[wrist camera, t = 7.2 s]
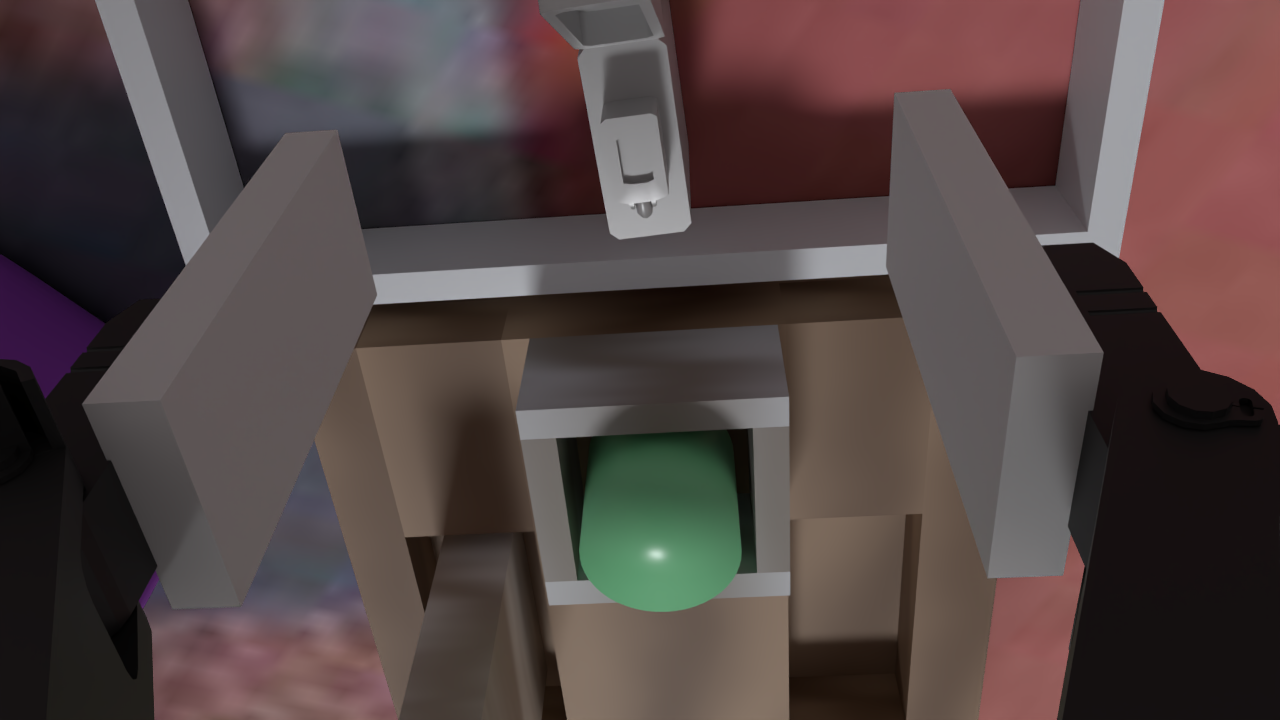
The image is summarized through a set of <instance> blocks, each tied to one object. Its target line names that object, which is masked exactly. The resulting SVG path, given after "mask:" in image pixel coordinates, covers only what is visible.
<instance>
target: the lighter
mask: <svg viewBox="0 0 1280 720" xmlns="http://www.w3.org/2000/svg"><path fill="white" fill-rule="evenodd" d="M538 3H539V10H540V15H541V16H542V17H543V18H544V19H545V20H546V21H547V22H548V23H549V24H550V25H551V26H552V27H553V28H554V29H555V30H556V31H557V32H558V33H559V34H560V35H561V36H562V37H563V38H564V39H565V40H566V41H567V42H568V43H569V44H570V45H571V46H572V47H573V48H574V49H579V54H578V64H579V69H580V75H581V80H582V85H583V91H584V96H585V102H586V107H587V112H588V118H589V123H590V129H591V134H592V139H593V145H594V150H595V156H596V161H597V166H598V172H599V177H600V183H601V188H602V194H603V199H604V204H605V210H606V215H607V221H608V226H609V231H610V234H612V235H613V236H615V237H616V238H618V239H619V240H620V239H628V238H636V237H644V236H652V235H660V234H668V233H676V232H684V231H685V230H686V229H687V228H688V226H689V225H690V224H691V197H690V170H689V144H688V136H687V129H686V122H685V114H684V107H683V100H682V92H681V85H680V77H679V70H678V63H677V55H676V48H675V40H674V33H673V26H672V18H671V11H670V4H669V0H538Z"/></svg>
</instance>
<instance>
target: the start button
mask: <svg viewBox="0 0 1280 720" xmlns="http://www.w3.org/2000/svg"><path fill="white" fill-rule="evenodd" d="M741 553H742V549H741V537H740V525H739V512H738V500H737V487H736V475H735V463H734V451H733V444H732V441H731V438H730V436H729V433H728V431H727V430H706V431H686V432H667V433H647V434H627V435H607V436H592V438H591V441H590V445H589V453H588V464H587V474H586V485H585V495H584V505H583V516H582V526H581V537H580V547H579V554H580V561H581V565H582V568H583V570H584V573H585V574H586V576H587V577H588V579H589V581H590V582H591V583H592V584H593V585H594V586H595V587H596V588H597V589H598V590H599V591H600V592H601V593H603V594H604V595H605V596H607V597H608V598H610V599H612V600H614V601H615V602H617V603H620V604H622V605H625V606H628V607H631V608H634V609H639V610H644V611H652V612H670V611H678V610H684V609H688V608H691V607H695V606H697V605H700V604H702V603H705V602H707V601H708V600H710V599H712V598H714V597H715V596H717V595H718V594H719V593H721V592H722V591H723V590H724V589H725V588H726V587H727V586H728V585H729V584H730V582H731V581H732V580H733V578H734V577H735V575H736V573H737V571H738V568H739V566H740V562H741Z"/></svg>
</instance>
